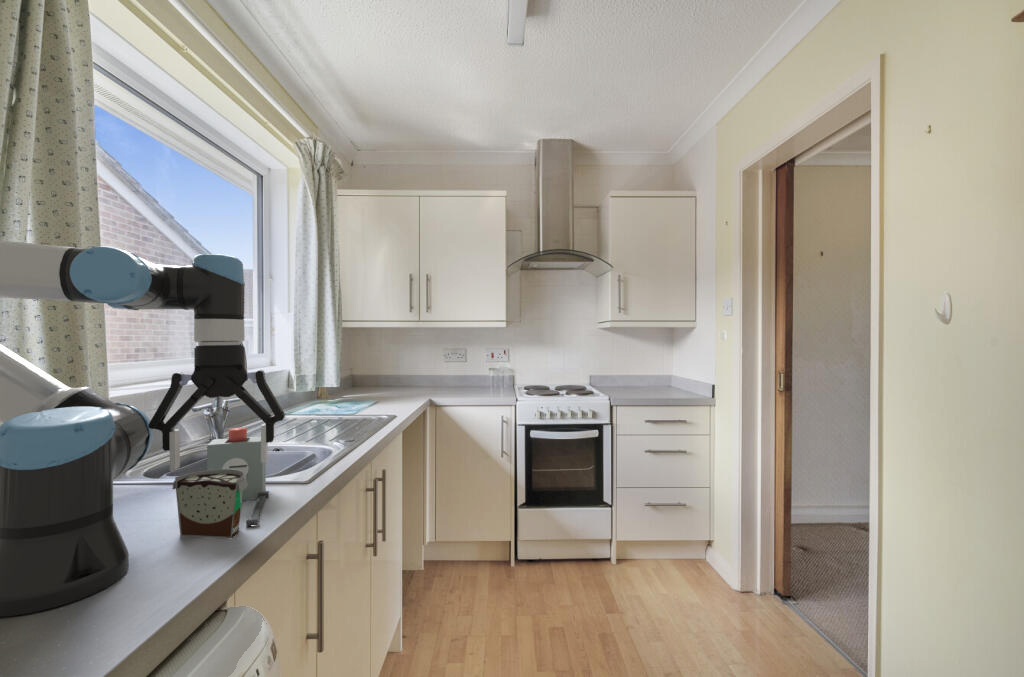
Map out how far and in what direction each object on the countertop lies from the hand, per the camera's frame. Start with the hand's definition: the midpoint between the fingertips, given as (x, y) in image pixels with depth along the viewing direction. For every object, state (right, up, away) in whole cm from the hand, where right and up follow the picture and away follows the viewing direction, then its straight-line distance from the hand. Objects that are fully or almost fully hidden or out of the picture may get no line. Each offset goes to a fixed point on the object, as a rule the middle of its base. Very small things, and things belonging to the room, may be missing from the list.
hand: (221, 464), depth 83 cm
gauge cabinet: (-7, -11, +17) cm, 22 cm away
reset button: (-7, +1, +17) cm, 19 cm away
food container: (0, -12, 0) cm, 12 cm away
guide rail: (+2, -11, +9) cm, 15 cm away
